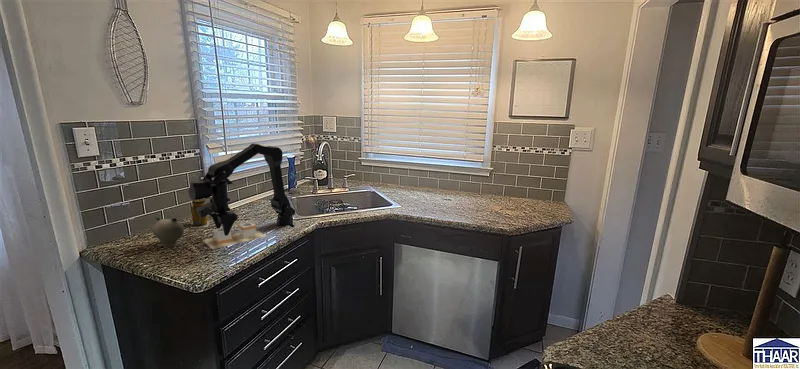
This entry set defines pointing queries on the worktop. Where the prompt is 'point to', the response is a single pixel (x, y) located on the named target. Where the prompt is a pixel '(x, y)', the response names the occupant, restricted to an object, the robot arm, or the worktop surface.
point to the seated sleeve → (247, 230)
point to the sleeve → (221, 236)
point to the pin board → (236, 239)
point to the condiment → (197, 219)
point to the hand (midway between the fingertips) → (222, 232)
